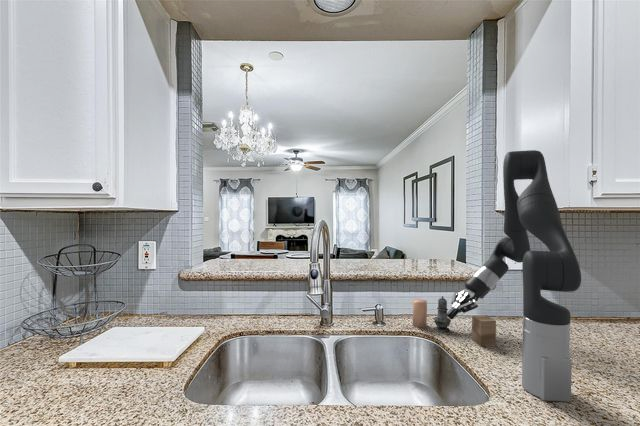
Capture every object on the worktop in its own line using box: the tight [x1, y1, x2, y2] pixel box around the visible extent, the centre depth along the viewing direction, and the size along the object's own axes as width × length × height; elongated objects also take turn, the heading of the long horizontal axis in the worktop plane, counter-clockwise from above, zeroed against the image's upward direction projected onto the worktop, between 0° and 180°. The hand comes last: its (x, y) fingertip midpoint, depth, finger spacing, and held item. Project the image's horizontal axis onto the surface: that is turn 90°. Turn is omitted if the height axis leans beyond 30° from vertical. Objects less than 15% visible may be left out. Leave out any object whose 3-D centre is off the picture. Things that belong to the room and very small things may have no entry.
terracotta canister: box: [412, 298, 428, 329], centre depth 120 cm, size 5×5×9 cm
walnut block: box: [471, 314, 497, 347], centre depth 105 cm, size 5×5×8 cm
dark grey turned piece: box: [433, 295, 452, 333], centre depth 116 cm, size 6×6×12 cm
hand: (448, 317), depth 116 cm, fingers closed
